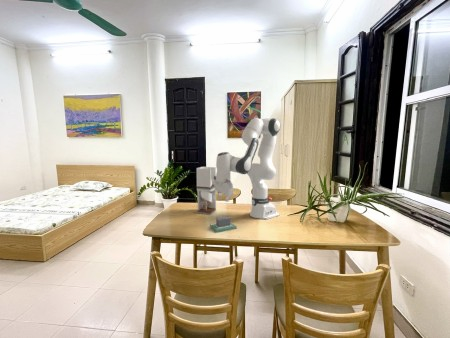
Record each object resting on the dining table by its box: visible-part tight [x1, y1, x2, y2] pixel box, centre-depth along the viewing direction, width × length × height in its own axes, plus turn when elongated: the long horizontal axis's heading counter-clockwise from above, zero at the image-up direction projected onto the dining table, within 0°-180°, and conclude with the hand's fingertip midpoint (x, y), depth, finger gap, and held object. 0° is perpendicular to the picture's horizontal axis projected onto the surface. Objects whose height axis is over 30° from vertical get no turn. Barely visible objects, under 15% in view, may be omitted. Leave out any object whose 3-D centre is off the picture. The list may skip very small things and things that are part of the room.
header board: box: [209, 221, 238, 233], centre depth 146 cm, size 14×10×2 cm
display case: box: [196, 166, 217, 216], centre depth 176 cm, size 11×11×35 cm
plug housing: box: [215, 215, 231, 228], centre depth 146 cm, size 8×4×5 cm, turn 117°
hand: (223, 199), depth 144 cm, fingers open, 8 cm apart
